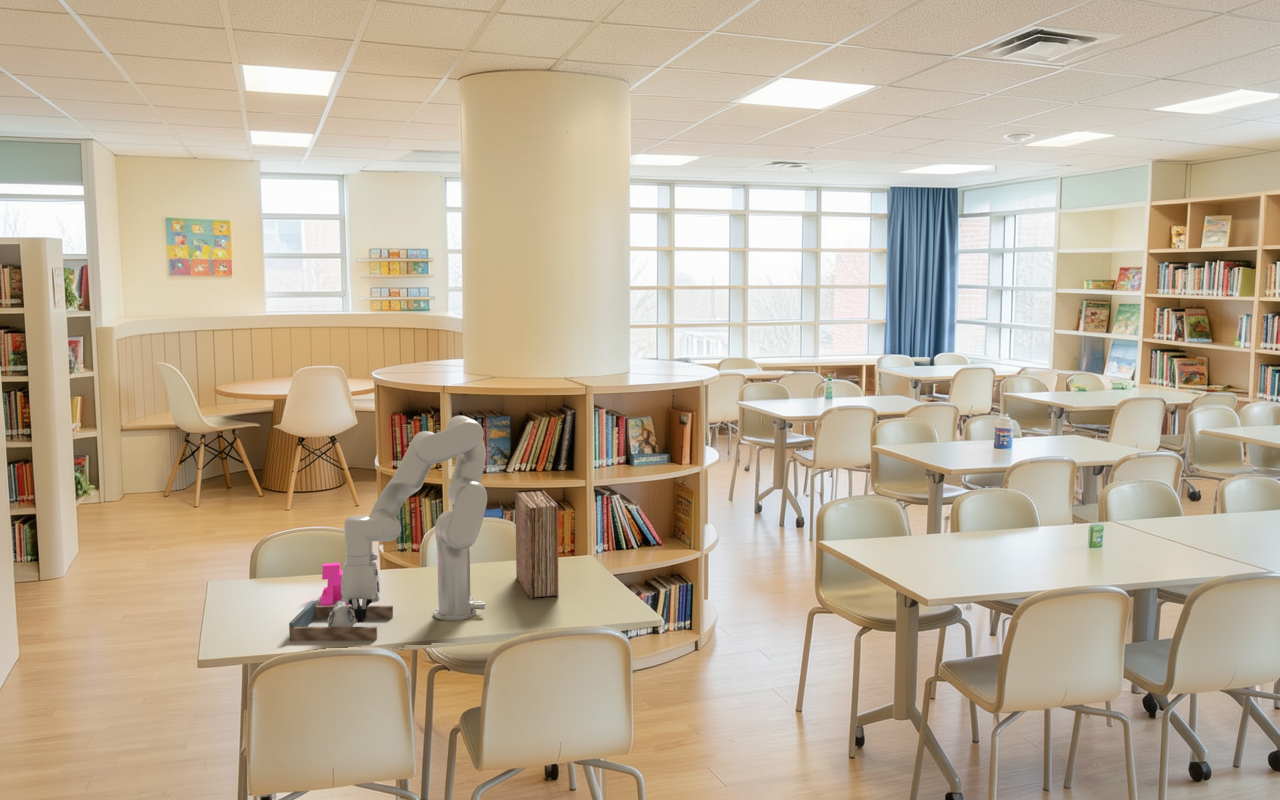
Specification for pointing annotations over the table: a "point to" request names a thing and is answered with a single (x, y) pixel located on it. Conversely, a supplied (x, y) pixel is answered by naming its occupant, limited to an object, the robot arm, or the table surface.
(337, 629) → the bay
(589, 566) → the table surface
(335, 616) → the skull
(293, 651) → the table surface
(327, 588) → the bracket
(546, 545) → the book
